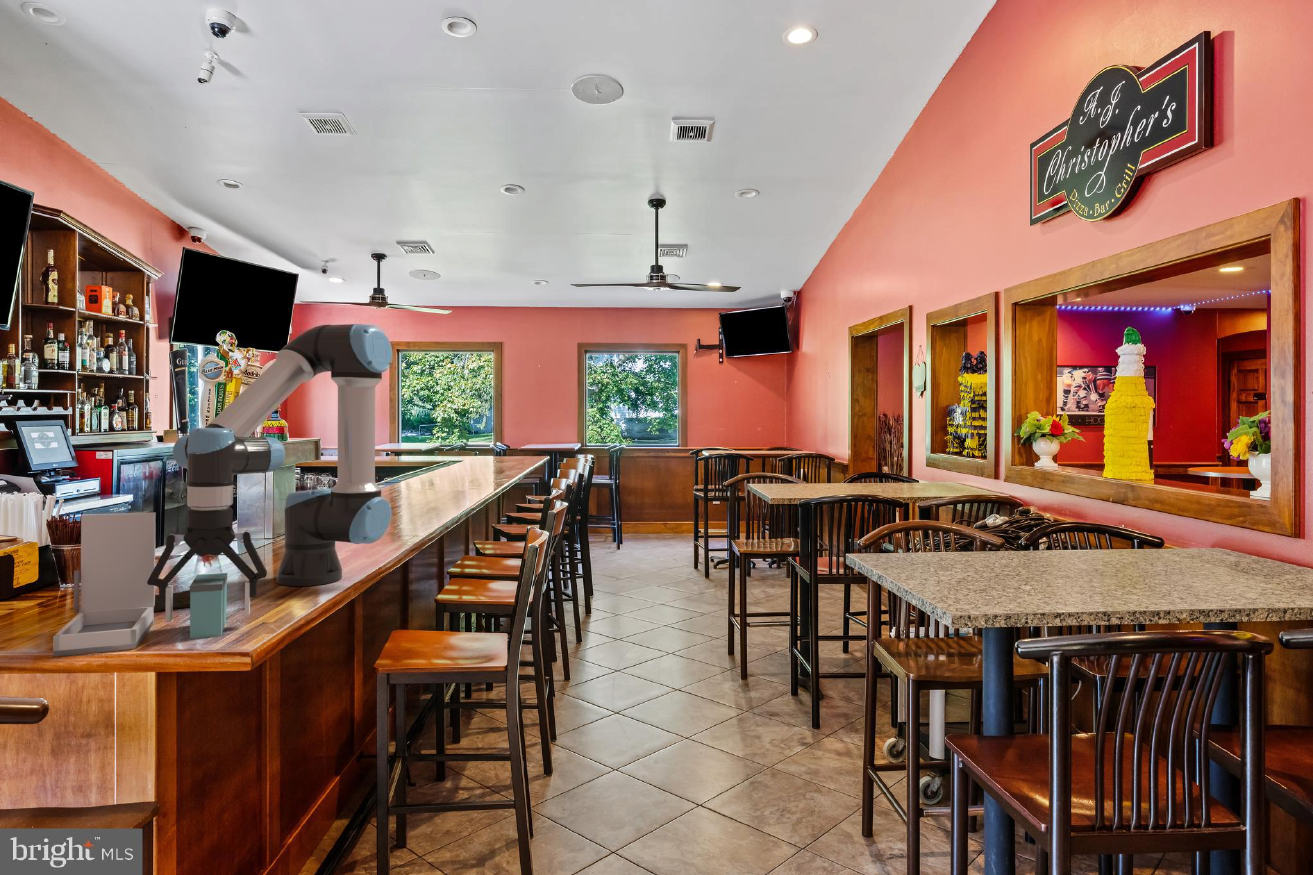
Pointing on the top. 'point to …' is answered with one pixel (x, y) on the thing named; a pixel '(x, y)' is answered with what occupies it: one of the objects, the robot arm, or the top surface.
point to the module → (208, 605)
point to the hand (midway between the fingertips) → (208, 617)
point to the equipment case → (112, 585)
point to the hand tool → (175, 600)
